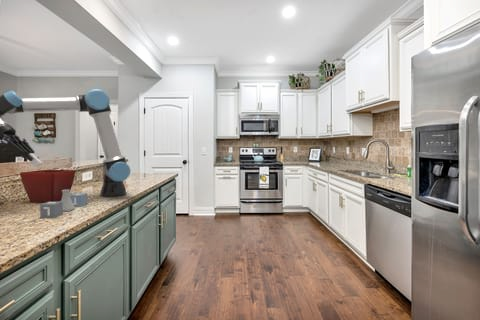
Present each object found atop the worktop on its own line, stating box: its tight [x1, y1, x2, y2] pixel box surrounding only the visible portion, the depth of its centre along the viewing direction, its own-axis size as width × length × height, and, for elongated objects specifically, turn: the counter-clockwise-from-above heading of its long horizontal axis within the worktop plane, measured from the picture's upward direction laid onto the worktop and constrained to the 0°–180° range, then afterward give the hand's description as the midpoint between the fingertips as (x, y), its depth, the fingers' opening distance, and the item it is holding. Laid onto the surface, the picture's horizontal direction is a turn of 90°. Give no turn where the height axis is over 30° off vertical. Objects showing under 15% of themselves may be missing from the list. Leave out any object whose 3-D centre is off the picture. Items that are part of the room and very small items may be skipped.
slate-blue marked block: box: [70, 192, 88, 208], centre depth 142 cm, size 6×6×6 cm
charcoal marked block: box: [39, 201, 64, 219], centre depth 120 cm, size 6×6×6 cm
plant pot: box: [19, 169, 76, 203], centre depth 154 cm, size 19×19×17 cm
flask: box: [60, 190, 76, 212], centre depth 131 cm, size 7×7×10 cm
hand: (39, 164), depth 129 cm, fingers closed
